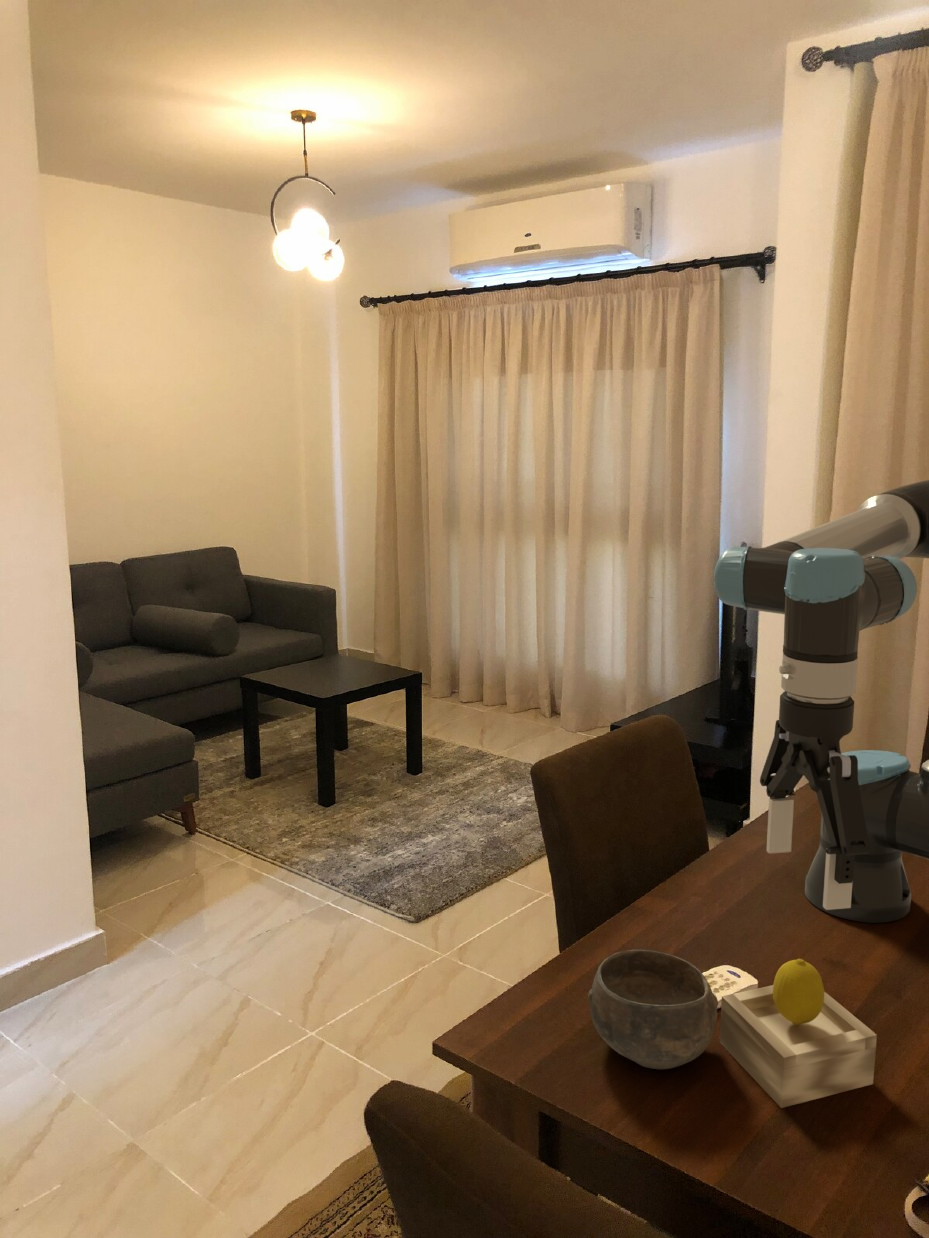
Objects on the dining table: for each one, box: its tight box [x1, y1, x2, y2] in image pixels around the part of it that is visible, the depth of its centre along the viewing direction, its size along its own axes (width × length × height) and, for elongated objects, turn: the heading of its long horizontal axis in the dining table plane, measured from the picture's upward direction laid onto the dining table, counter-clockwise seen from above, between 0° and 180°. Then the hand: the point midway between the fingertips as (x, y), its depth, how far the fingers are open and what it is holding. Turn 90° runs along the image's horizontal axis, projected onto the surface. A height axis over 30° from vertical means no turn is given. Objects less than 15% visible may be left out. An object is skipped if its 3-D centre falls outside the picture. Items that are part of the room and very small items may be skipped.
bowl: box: [587, 949, 719, 1070], centre depth 114 cm, size 14×15×10 cm
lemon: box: [772, 958, 825, 1026], centre depth 111 cm, size 6×6×8 cm
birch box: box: [719, 984, 878, 1109], centre depth 112 cm, size 12×12×6 cm
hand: (805, 877), depth 109 cm, fingers open, 13 cm apart
